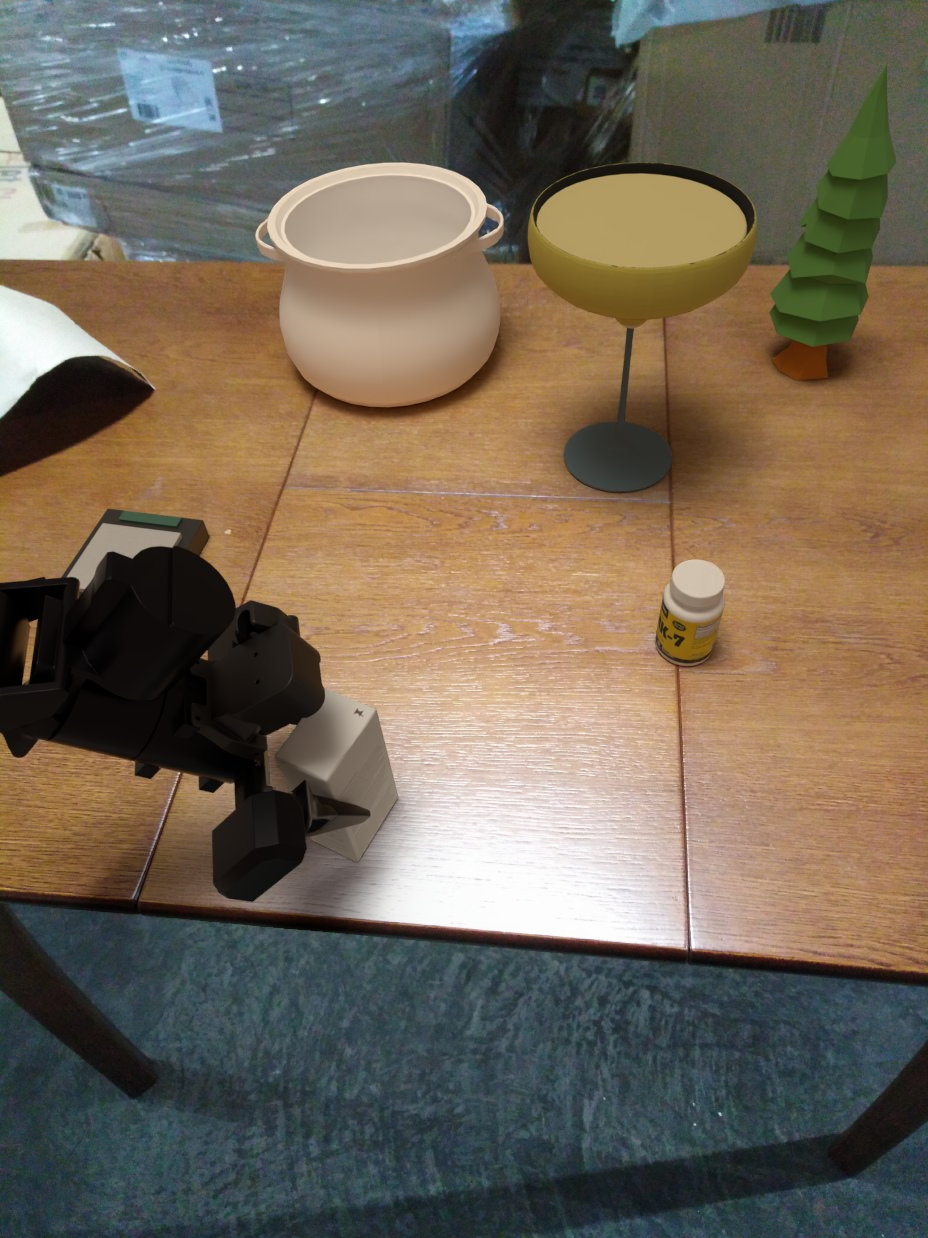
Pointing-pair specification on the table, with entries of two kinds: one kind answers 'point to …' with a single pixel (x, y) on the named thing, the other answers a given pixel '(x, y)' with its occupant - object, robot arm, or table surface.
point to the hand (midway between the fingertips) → (360, 770)
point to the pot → (385, 281)
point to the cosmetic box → (342, 767)
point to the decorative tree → (836, 244)
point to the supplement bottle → (690, 613)
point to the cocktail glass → (637, 278)
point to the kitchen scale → (134, 539)
